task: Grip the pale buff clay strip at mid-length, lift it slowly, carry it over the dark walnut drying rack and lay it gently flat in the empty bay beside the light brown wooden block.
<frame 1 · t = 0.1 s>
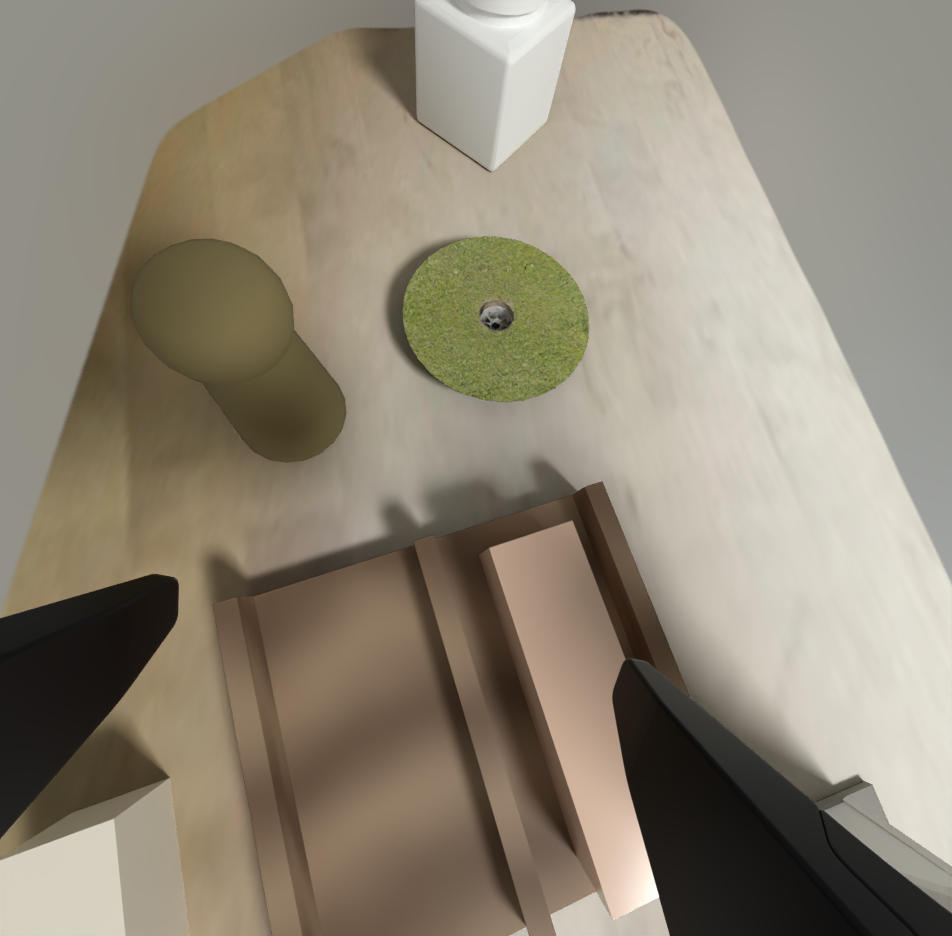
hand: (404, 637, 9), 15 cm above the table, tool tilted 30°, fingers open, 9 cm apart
drying rack: (472, 707, 22), on the table
light brown wooden block: (561, 679, 22), point 1 cm above the table, touching drying rack
mat: (493, 333, 28), on the table
medicine bottle: (482, 125, 33), on the table
cork: (293, 413, 25), on the table
skyscraper: (819, 874, 22), on the table
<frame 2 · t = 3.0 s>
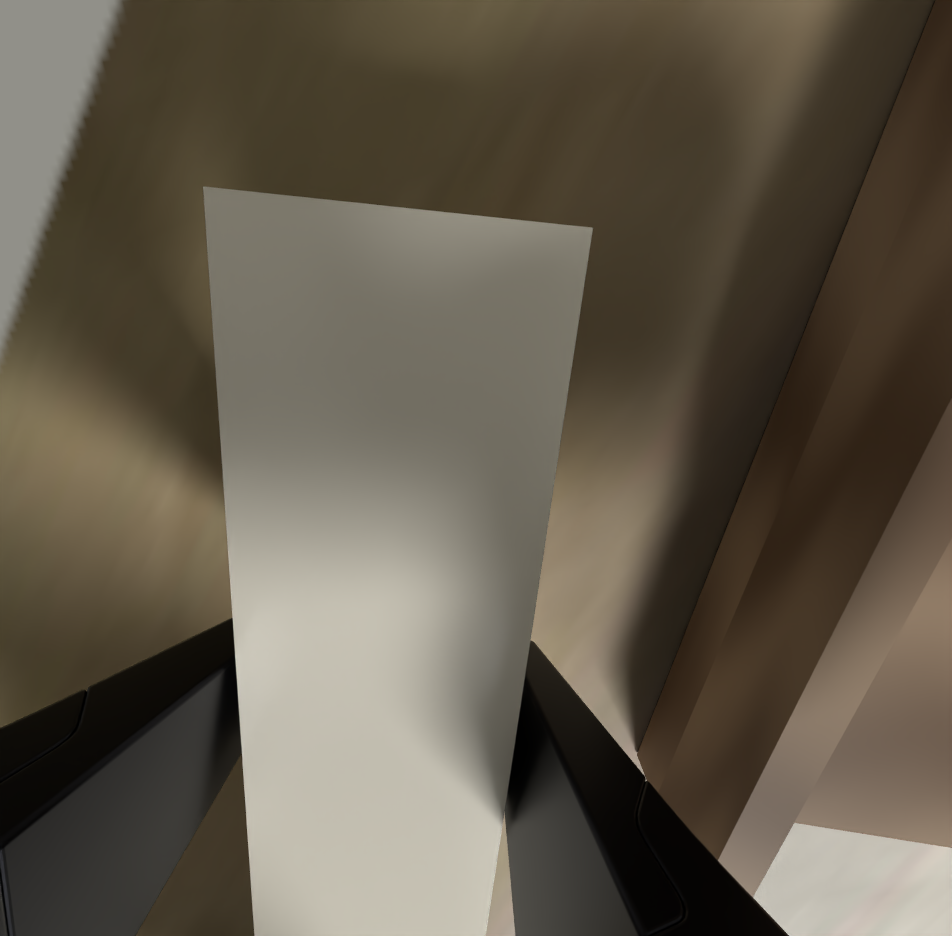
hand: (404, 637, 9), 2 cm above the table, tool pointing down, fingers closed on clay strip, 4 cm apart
clay strip: (414, 592, 10), on the table, touching gripper
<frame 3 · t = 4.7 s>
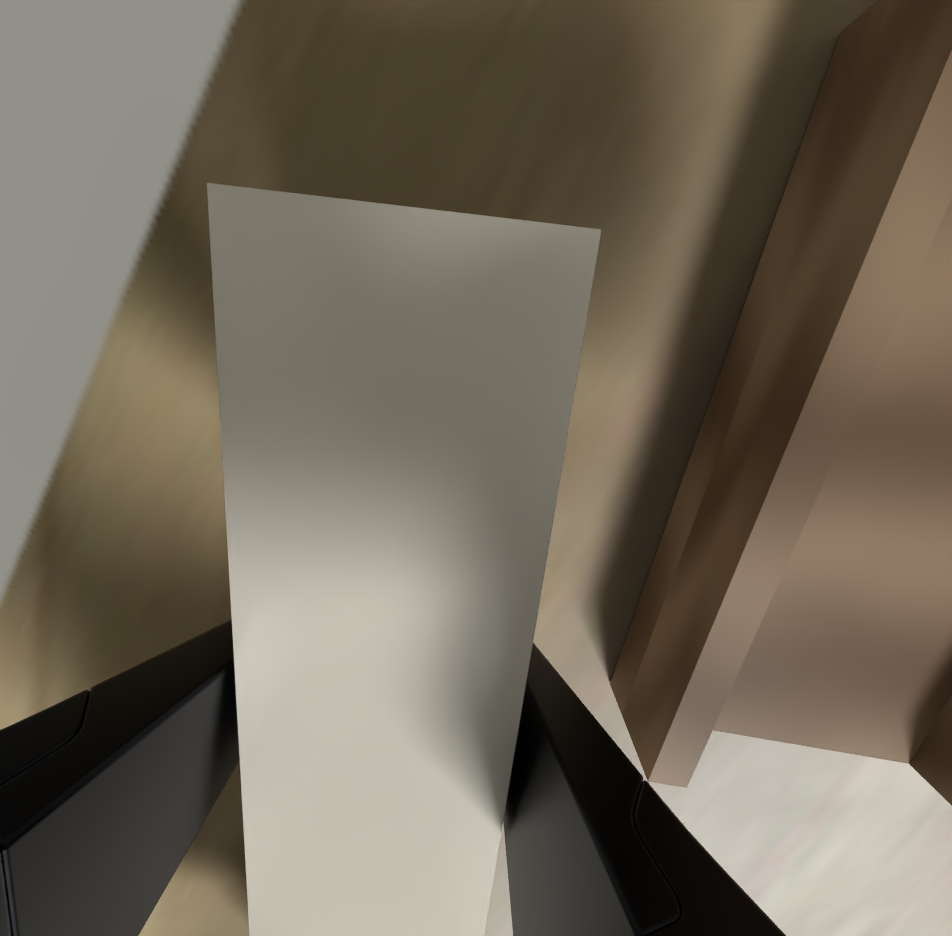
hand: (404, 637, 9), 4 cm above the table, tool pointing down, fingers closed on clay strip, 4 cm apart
clay strip: (414, 593, 10), point 2 cm above the table, touching gripper
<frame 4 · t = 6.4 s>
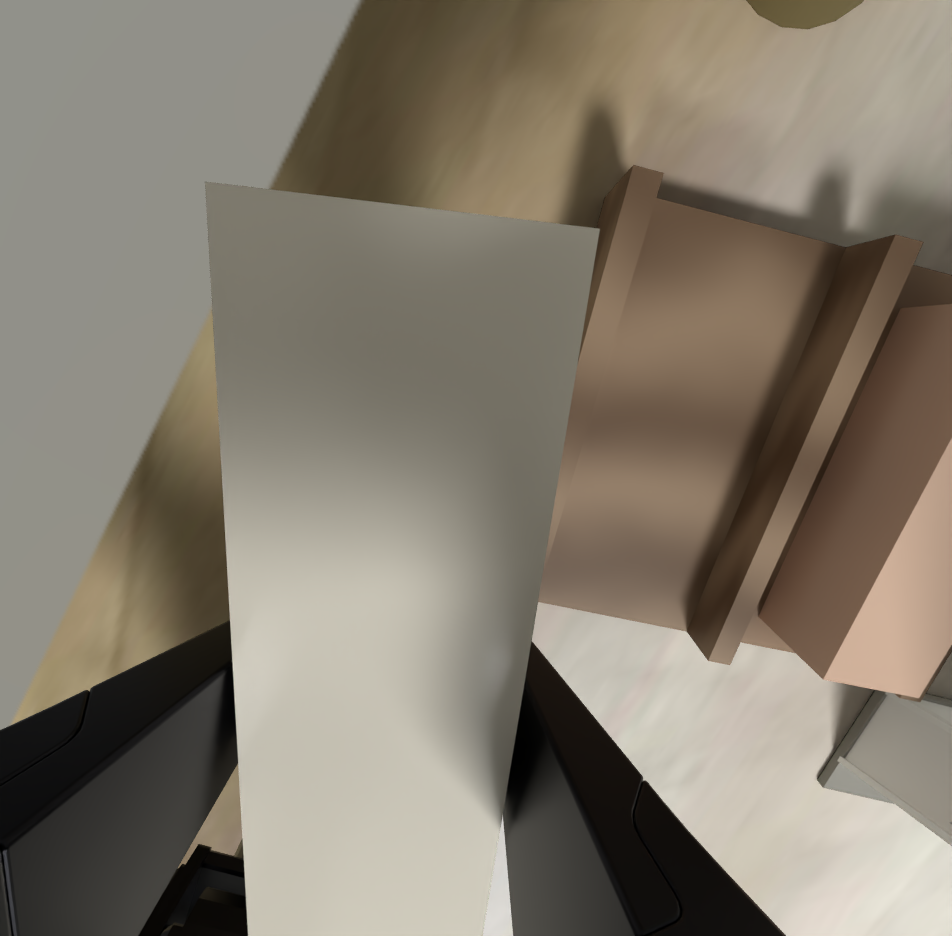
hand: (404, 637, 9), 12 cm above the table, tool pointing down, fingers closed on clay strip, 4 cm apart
drying rack: (750, 458, 20), on the table
clay strip: (413, 593, 10), point 10 cm above the table, touching gripper
light brown wooden block: (865, 487, 19), point 1 cm above the table, touching drying rack
skyscraper: (894, 732, 24), on the table
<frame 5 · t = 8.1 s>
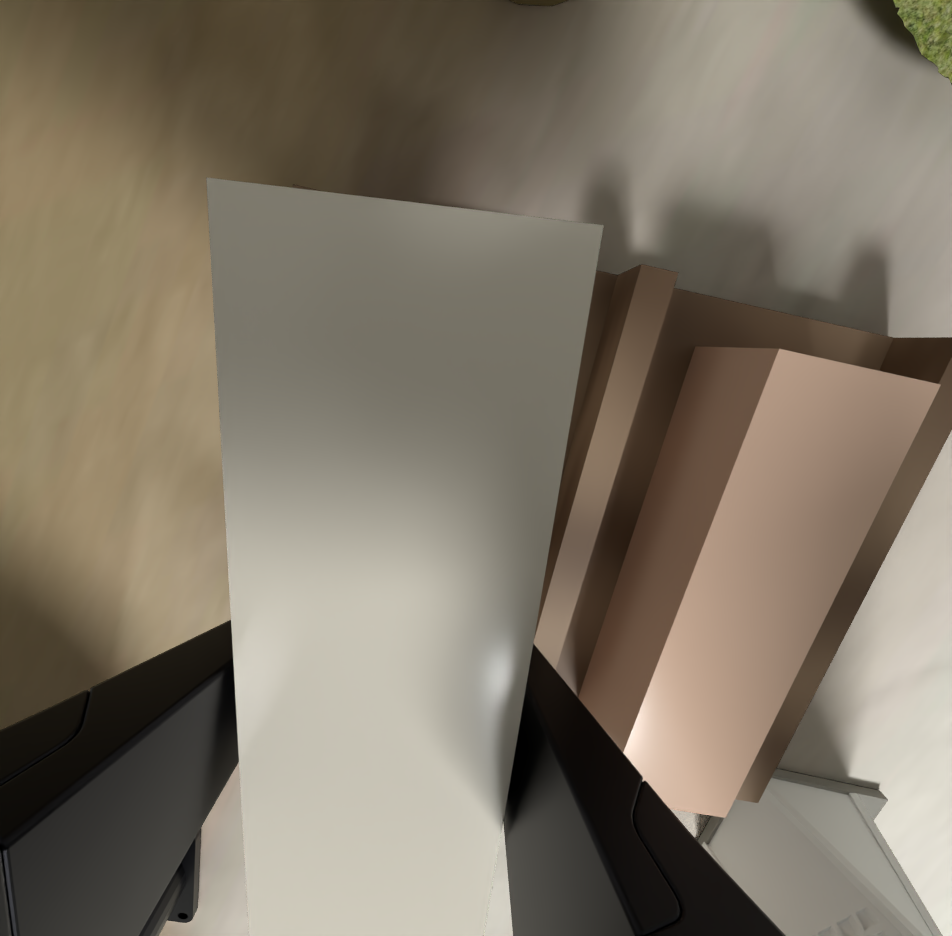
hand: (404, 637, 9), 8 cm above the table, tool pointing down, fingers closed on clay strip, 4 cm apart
drying rack: (556, 518, 17), on the table
clay strip: (414, 592, 10), point 7 cm above the table, touching gripper
light brown wooden block: (682, 554, 16), point 1 cm above the table, touching drying rack
skyscraper: (767, 813, 21), on the table
when the fingers open (4 cm above the table, at t = 9.7 s): clay strip drops 1 cm, resting on drying rack.
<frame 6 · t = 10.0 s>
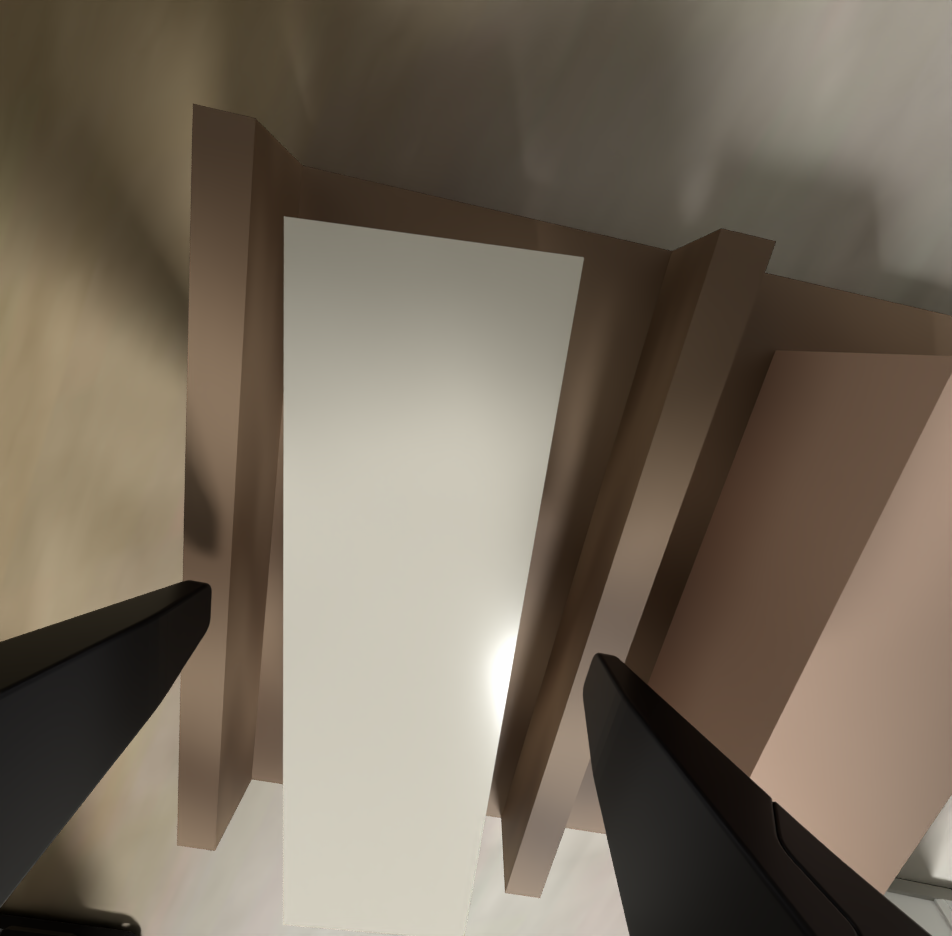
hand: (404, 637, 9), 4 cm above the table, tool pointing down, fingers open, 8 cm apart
drying rack: (577, 571, 13), on the table
clay strip: (423, 562, 12), point 1 cm above the table, touching drying rack
light brown wooden block: (745, 622, 12), point 1 cm above the table, touching drying rack
skyscraper: (829, 916, 18), on the table
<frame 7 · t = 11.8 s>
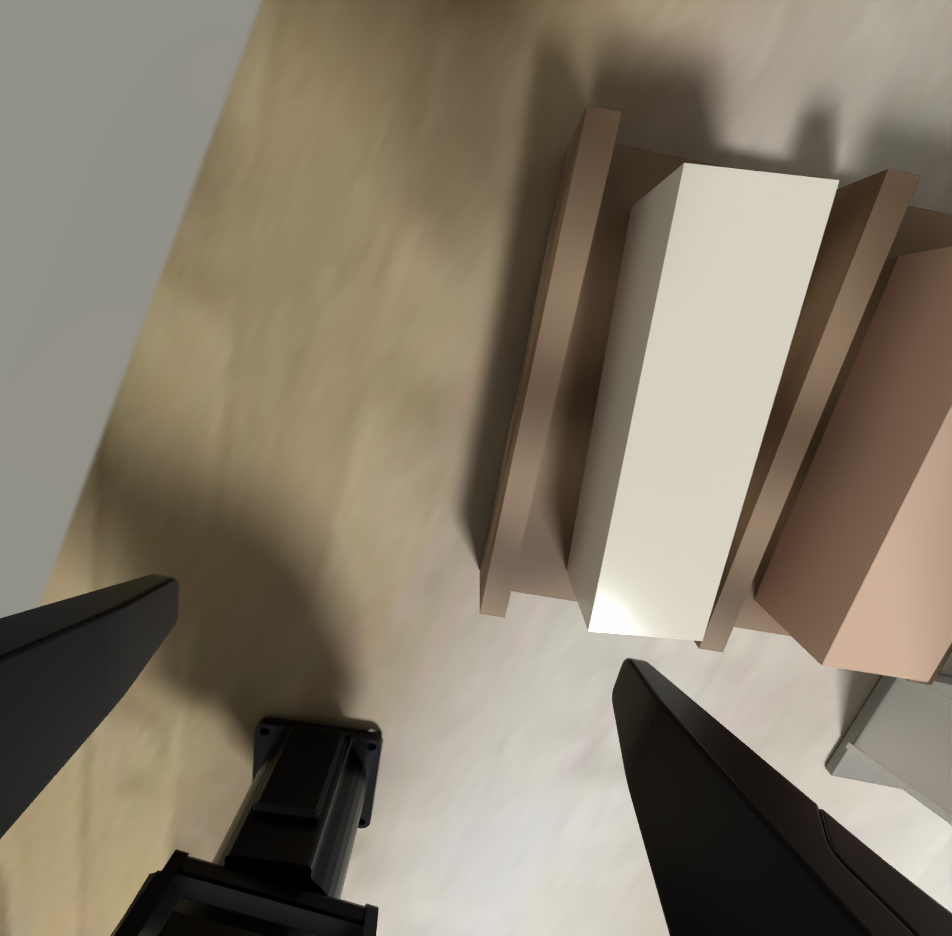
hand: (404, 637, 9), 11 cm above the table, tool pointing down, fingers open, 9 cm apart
drying rack: (739, 430, 18), on the table
clay strip: (646, 416, 17), point 1 cm above the table, touching drying rack
light brown wooden block: (865, 456, 17), point 1 cm above the table, touching drying rack
skyscraper: (906, 716, 23), on the table
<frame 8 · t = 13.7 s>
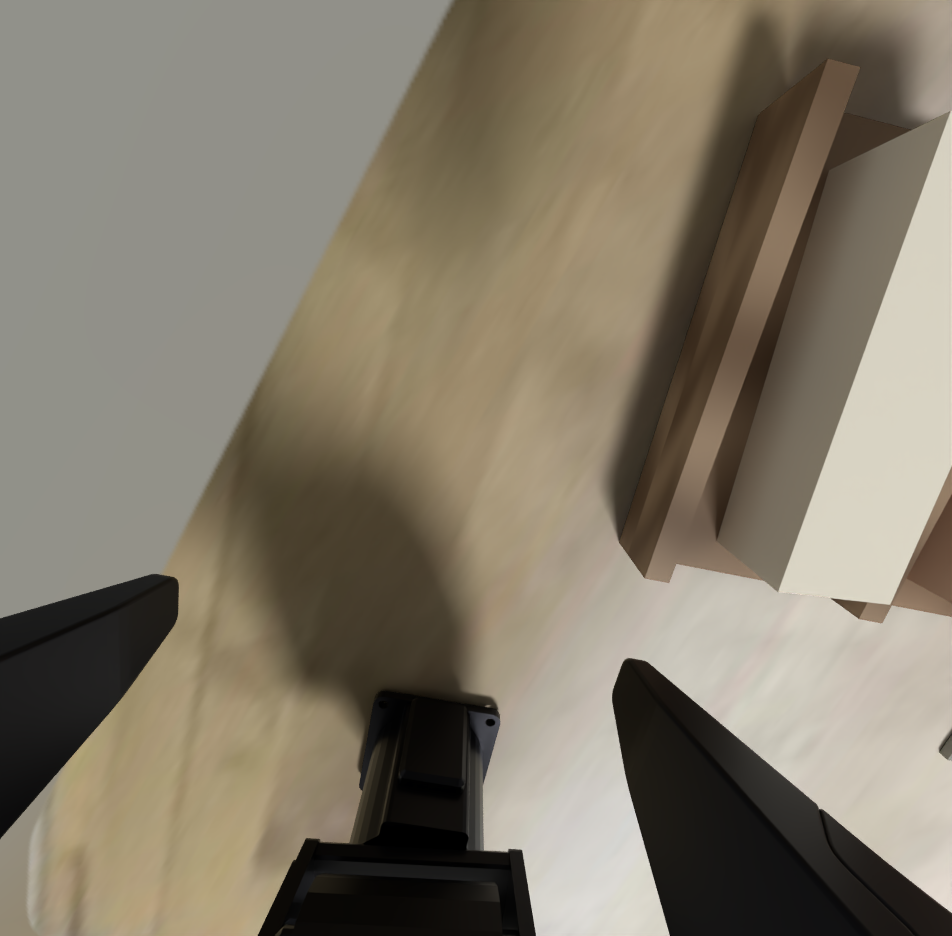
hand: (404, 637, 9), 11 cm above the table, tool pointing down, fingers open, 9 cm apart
drying rack: (895, 403, 18), on the table
clay strip: (816, 383, 17), point 1 cm above the table, touching drying rack
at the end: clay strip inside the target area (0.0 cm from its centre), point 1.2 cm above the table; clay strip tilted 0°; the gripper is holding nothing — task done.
